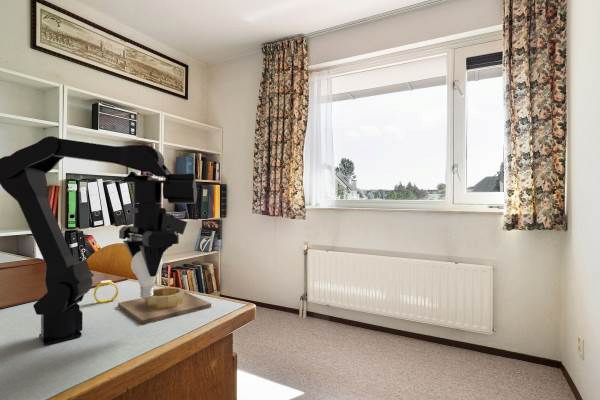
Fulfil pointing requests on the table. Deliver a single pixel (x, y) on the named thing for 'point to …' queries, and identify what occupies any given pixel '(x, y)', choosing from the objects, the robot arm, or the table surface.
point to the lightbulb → (144, 275)
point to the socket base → (148, 315)
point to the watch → (105, 284)
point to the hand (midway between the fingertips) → (147, 273)
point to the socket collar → (165, 298)
